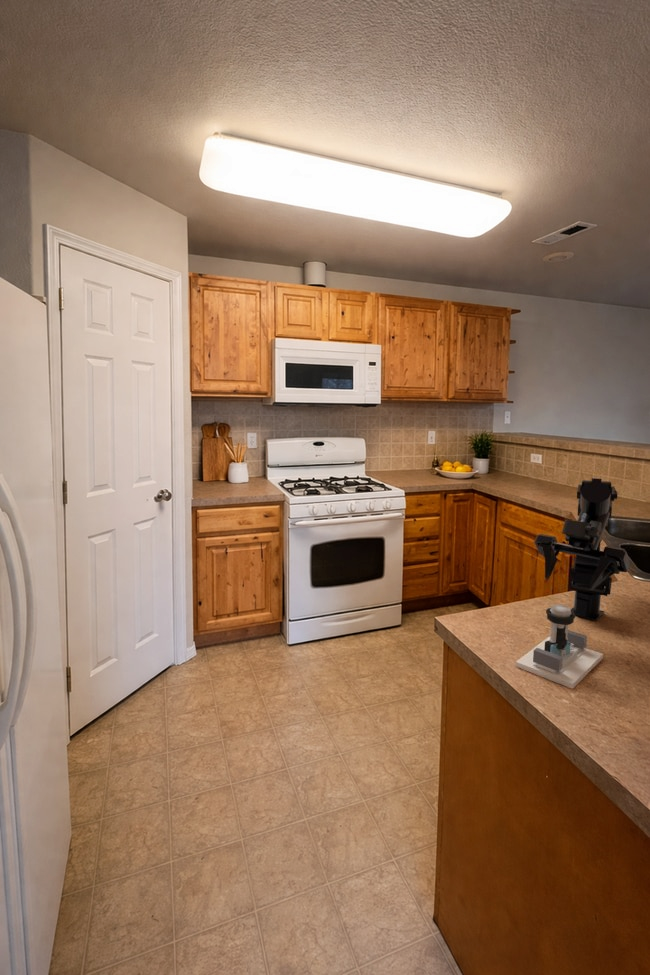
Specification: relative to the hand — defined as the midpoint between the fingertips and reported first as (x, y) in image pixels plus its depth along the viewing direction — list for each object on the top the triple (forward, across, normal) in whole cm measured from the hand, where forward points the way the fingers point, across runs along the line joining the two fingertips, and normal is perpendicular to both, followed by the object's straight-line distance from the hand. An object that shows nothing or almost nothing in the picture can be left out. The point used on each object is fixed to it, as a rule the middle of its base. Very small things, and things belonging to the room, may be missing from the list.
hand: (567, 584), depth 105 cm
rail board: (+16, +3, +3) cm, 17 cm away
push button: (+15, +3, +2) cm, 15 cm away
